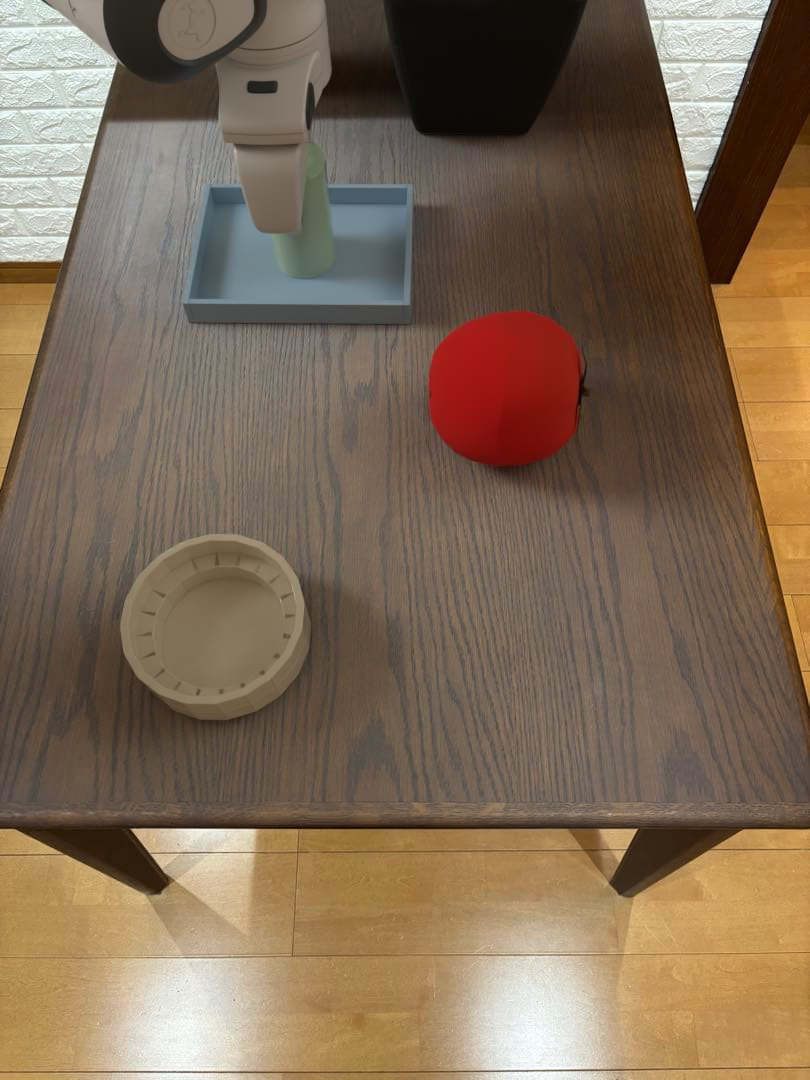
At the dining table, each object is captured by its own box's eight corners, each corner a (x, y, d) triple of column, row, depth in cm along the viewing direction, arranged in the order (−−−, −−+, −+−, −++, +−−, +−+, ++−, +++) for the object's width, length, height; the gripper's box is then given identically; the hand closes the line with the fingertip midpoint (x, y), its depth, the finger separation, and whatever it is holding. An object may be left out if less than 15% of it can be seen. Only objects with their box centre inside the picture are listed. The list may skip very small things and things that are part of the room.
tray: (188, 322, 79) (181, 303, 76) (211, 203, 86) (205, 183, 84) (410, 324, 78) (409, 305, 76) (413, 204, 86) (413, 183, 83)
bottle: (272, 278, 80) (239, 119, 65) (278, 234, 83) (248, 72, 68) (334, 279, 80) (315, 120, 65) (337, 235, 83) (320, 72, 68)
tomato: (422, 458, 75) (569, 471, 74) (418, 460, 62) (594, 476, 62) (435, 316, 73) (585, 328, 73) (433, 288, 61) (614, 303, 60)
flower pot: (563, 156, 89) (592, -8, 74) (387, 157, 89) (381, -6, 74) (550, 48, 97) (574, -119, 82) (390, 49, 98) (385, -116, 83)
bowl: (127, 721, 61) (104, 702, 57) (156, 561, 67) (137, 532, 63) (304, 724, 61) (295, 705, 56) (317, 563, 67) (310, 534, 62)
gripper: (247, -25, 68) (273, 126, 80) (214, 139, 59) (250, 282, 71) (322, -25, 68) (337, 126, 80) (302, 139, 59) (323, 282, 71)
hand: (296, 200), depth 76 cm, fingers closed on bottle, 6 cm apart
